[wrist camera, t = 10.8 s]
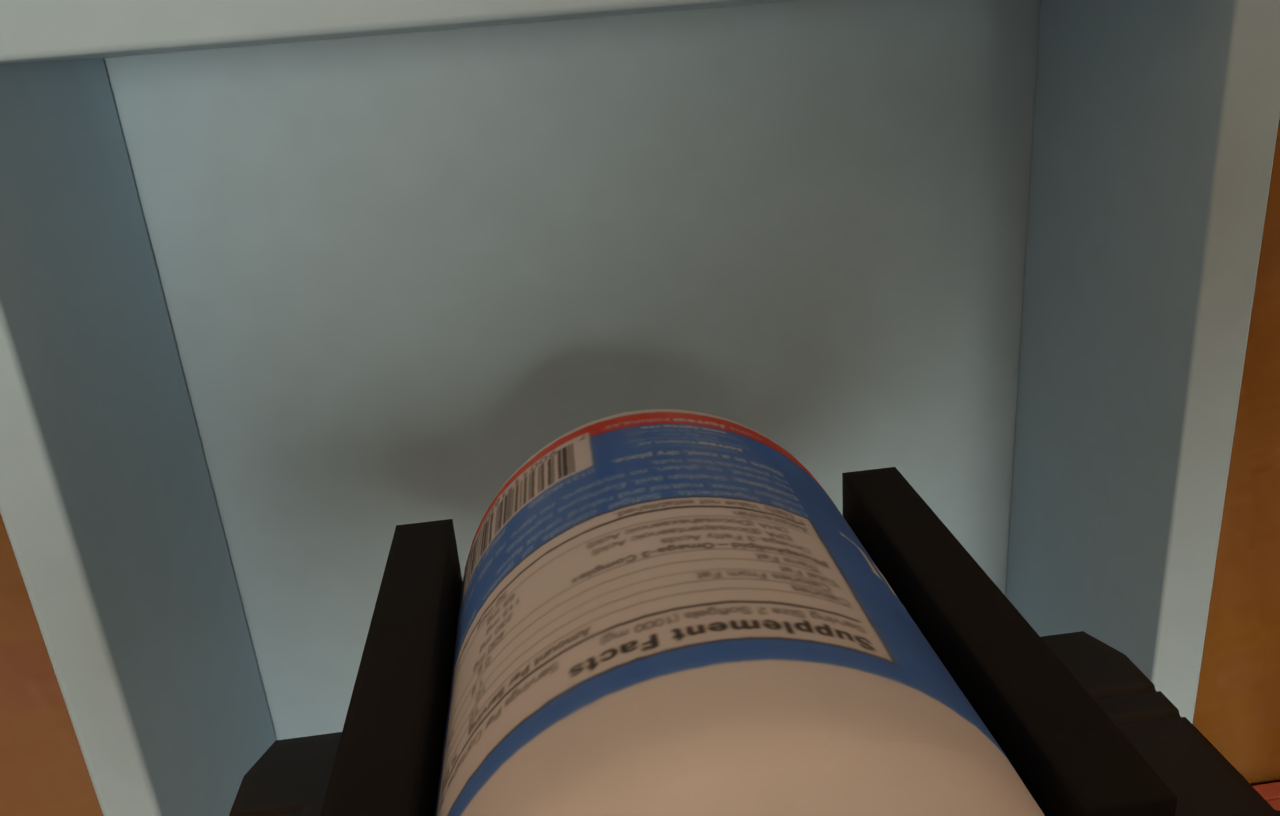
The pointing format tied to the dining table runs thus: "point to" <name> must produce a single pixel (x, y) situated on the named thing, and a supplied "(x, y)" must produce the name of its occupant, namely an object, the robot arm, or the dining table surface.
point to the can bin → (1270, 793)
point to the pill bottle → (696, 646)
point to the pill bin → (596, 305)
